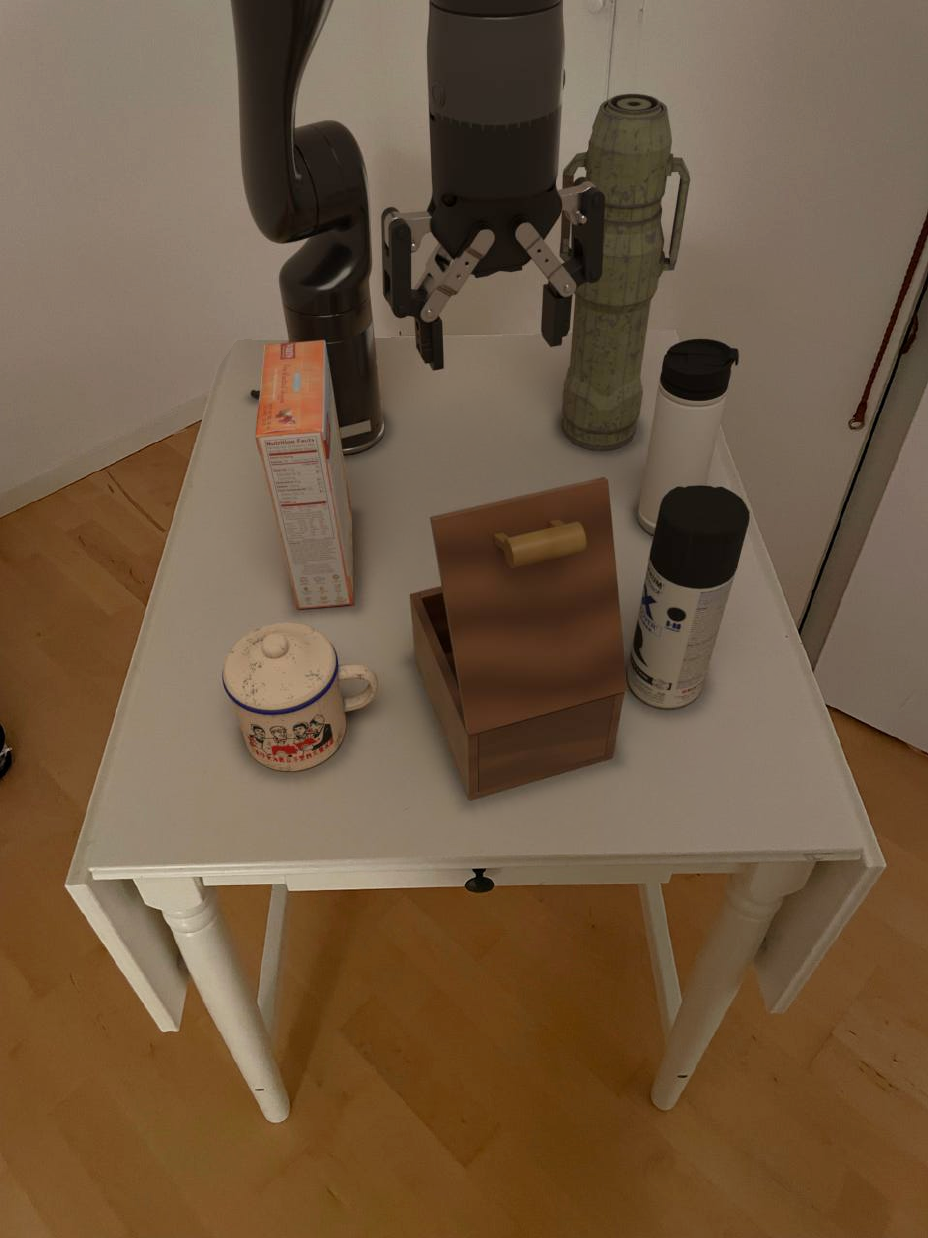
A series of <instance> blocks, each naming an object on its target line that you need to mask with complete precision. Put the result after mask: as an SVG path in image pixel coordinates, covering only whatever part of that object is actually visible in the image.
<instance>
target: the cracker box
mask: <svg viewBox="0 0 928 1238" xmlns="http://www.w3.org/2000/svg"><path fill="white" fill-rule="evenodd" d="M262 354H263V356H262V365H261V376H260V386H259V390H260V397H259V400H258V405H257V415H256V426H255V436H254V437H255V441H256V445H257V449H258V454H259V457H260V462H261V466H262V469H263V474H264V478H265V482H266V485H267V490H268V494H269V498H270V502H271V506H272V511H273V514H274V518H275V519H274V520H275V523H276V528H277V532H278V536H279V540H280V544H281V548H282V552H283V556H284V559H285V565H286V570H287V573H288V577H289V581H290V585H291V588H292V593H293V598H294V603H295V605H296V609H297V610H304V609H305V610H308V609H317V608H318V609H319V608H330V607H342V606H343V607H344V606H353V605H354V604H355V593H354V592H355V591H354V589H355V588H354V587H355V586H354V585H355V584H354V546H353V543H354V542H353V540H354V539H353V510H352V502H351V495H350V490H349V483H348V477H347V471H346V470H347V469H346V464H345V458H344V454H343V451H342V445H341V438H340V432H339V426H338V419H337V413H336V406H335V399H334V393H333V386H332V380H331V373H330V367H329V361H328V355H327V349H326V343H325V340H318V341H306V342H295V343H289V342H282V343H270V344H264V345H263V353H262Z"/></svg>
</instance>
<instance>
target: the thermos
mask: <svg viewBox="0 0 928 1238" xmlns="http://www.w3.org/2000/svg"><path fill="white" fill-rule="evenodd" d="M669 117H670V116H669V111H668V107H667V105H666V104H665V103H664V102H663V101H660V100H659V99H658V98H657V97H654V96H652V95H648V94H643V93H623V94H618V95H614V96H612V97H610V98H609V99H606V100H605V101H603V102H602V103H601V104H600V105H599V108H598V111H597V112H596V116H595V118H594V121H593V123H592V126H591V129H592V131H591V134H590V137H589V140H588V143H587V144H588V145H587V146H588V147H587V151H584V152H577V153H576V154H575V155H574V156H573V157H572V159H571V160H570V161H569V162H568V164H567V165H566V166H565V167H564V168H563V170H562V181H561V183H562V185H561V186H562V187H561V189H565V188H569V187H572V185H573V183H574V181H575V174H576V173H577V170H578V169H579V168H584V171H585V177H586V178H587V179H588V180H589V181H591V182H592V183H593V184H594V185H595V186H596V187H597V188H598V189H599V190H600V191H601V192H602V193H603V194H604V195H605V218H604V243H603V267H602V276H601V278H600V279H599V280H598V281H597V282H595V283H589V282H586V283H584V284H582V285H580V286H579V287H577V288H576V290H575V292H574V293H573V295H574V306H573V307H574V308H573V318H572V319H573V320H572V332H571V333H572V334H571V347H570V358H569V359H570V360H569V365H568V369H567V371H566V374H565V378H564V381H563V387H562V388H563V390H562V401H561V412H562V416H563V417H562V419H561V420H562V421H561V431H562V434H563V435H564V437H565V438H566V439H567V440H568V441H569V442H570V443H571V444H573V445H575V446H578V447H580V448H582V449H585V450H586V449H587V450H591V451H601V452H602V451H604V452H605V451H612V450H618V449H620V448H622V447H625V446H627V445H628V444H629V443H630V442H631V441H633V439H634V437H635V435H636V432H637V421H638V419H639V416H640V415H641V407H642V401H643V396H644V395H643V394H644V391H643V382H642V379H641V374H642V366H643V359H644V352H645V346H646V340H647V339H646V338H647V332H648V323H649V318H650V311H651V310H650V309H651V304H652V300H653V298H654V296H655V294H656V292H657V291H658V288H659V279H660V278H661V277H662V275H663V273H664V272H669V271H675V268H676V264H677V261H678V258H679V257H678V256H679V252H680V245H681V241H682V233H683V229H684V228H683V226H684V221H685V214H686V208H687V202H688V195H689V190H690V184H691V175H690V171H689V169H688V167H687V165H686V163H685V160H684V158H683V157H678V156H677V157H675V156H674V153H671V152H672V151H671V150H672V143H673V137H672V130H671V129H672V128H671V123H670V118H669ZM673 173H678V175H679V183H678V188H677V189H678V190H677V194H676V195H677V196H676V203H675V210H674V215H673V221H672V229H671V235H670V242H669V249H668V250H669V251H668V257H666V254H665V251H664V246H665V237H664V231H663V226H662V215H663V205H662V202H663V201H662V199H663V198H664V196H665V194H666V187H667V181H668V177H672V174H673ZM560 217H561V219H560V220H561V222H560V244H559V252H558V253H559V255H558V256H559V258H560V259H561V260H562V261H563V263H564V262H566V261H568V260H570V259H571V246H570V242H571V239H570V238H571V221H570V220H569V219H568V218H567V217H566V216H565V211H562V212H561V215H560Z"/></svg>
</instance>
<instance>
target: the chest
mask: <svg viewBox="0 0 928 1238" xmlns="http://www.w3.org/2000/svg"><path fill="white" fill-rule="evenodd" d="M409 604H410V615H411V617H410V618H411V627H412V628H411V629H412V639H413V640H412V641H413V650H414V651H413V653H414V662H415V664H416V667H417V669H418V672H419V674H420V677H421V680H422V681H423V685H424V688H425V690H426V693H427V696H428V698H429V700H430V703H431V705H432V708H433V710H434V714H435V716H436V718H437V721H438V723H439V726H440V729H441V731H442V734H443V736H444V739H445V742H446V744H447V747H448V750H449V752H450V754H451V757H452V760H453V763H454V765H455V767H456V770H457V772H458V775H459V778H460V781H461V783H462V785H463V788H464V790H465V793H466V796H467V798H468V801H473V800H476V799H480V798H483V797H487V796H490V795H493V794H496V793H500V792H504V791H507V790H511V789H514V788H517V787H521V786H523V785H527V784H530V783H534V782H536V781H540V780H544V779H547V778H551V777H554V776H557V775H561V774H563V773H567V772H571V771H575V770H577V769H581V768H583V767H588V766H590V765H594V764H597V763H600V762H604V761H607V760H610V759H613V758H614V752H615V747H616V741H617V735H618V732H619V724H620V720H621V714H622V709H623V702H624V697H625V692H622V693H618V694H614V695H611V696H607V697H604V698H600V699H597V700H593V701H590V702H586V703H583V704H579V705H576V706H572V707H568V708H565V709H561V710H558V711H554V712H551V713H547V714H544V715H540V716H537V717H533V718H530V719H526V720H522V721H519V722H515V723H512V724H508V725H505V726H501V727H498V728H494V729H491V730H487V731H483V732H480V733H476V734H473V735H469V734H468V732H467V731H466V725H465V720H464V714H463V708H462V702H461V696H460V690H459V685H458V679H457V673H456V667H455V661H454V655H453V650H452V644H451V638H450V632H449V626H448V621H447V615H446V609H445V603H444V597H443V591H442V586H441V585H440V586H436V587H432V588H428V589H424V590H420V591H415V592H412V593H409Z"/></svg>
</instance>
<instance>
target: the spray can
mask: <svg viewBox="0 0 928 1238" xmlns="http://www.w3.org/2000/svg"><path fill="white" fill-rule="evenodd" d="M750 519H751V517H750V510H749V508H748V506H747V504H746V502H745V501H744V500H743V498H741V497H740V496H739V495H738V494H737V493H735V492H733V491H731V490H730V489H727V488H726V487H724V486H716V487H715V486H711V485H706V486H703V485H697V486H687V487H685V488H684V487H682V486H677V487H676V488H674V489H672V490H670V491H669V492H668V493H667V494H666V495H665V496H664V498H663V499H662V501H661V504H660V508H659V513H658V518H657V523H656V527H655V532H654V535H652V541H651V545H650V549H649V554H648V555H649V556H648V559H647V560H648V561H647V566H646V572H645V577H644V583H643V589H642V593H641V599H640V604H639V608H638V614H637V620H636V625H635V630H634V635H633V640H632V644H631V651H630V655H629V661H628V667H627V681H628V685H629V687H630V690H631V691H632V692H633V694H634V695H635V697H636V698H637V699H638V700H640V701H642V702H643V703H644V704H646V705H648V706H650V707H652V708H656V709H660V710H678V709H681V708H685V707H687V706H688V705H690V704H692V703H693V702H694V701H695V700H696V699H697V697H698V696H699V694H700V693H701V691H702V690H703V686H704V682H705V679H706V676H707V672H708V669H709V665H710V661H711V659H712V654H713V651H714V648H715V645H716V641H717V638H718V635H719V632H720V627H721V624H722V621H723V617H724V613H725V610H726V607H727V603H728V600H729V596H730V593H731V589H732V586H733V583H734V579H735V575H736V572H737V570H738V567H739V563H740V558H741V554H742V550H743V546H744V542H745V539H746V535H747V531H748V527H749V524H750Z"/></svg>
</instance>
